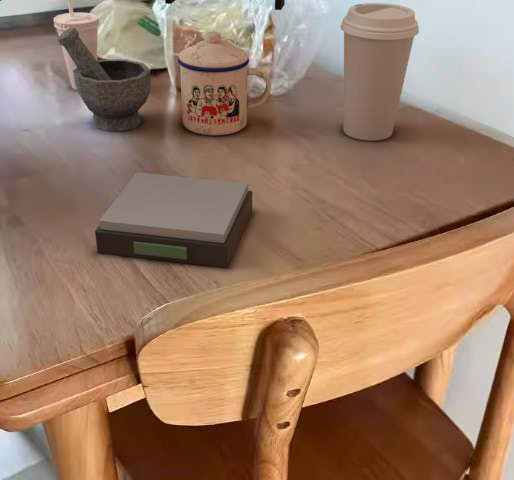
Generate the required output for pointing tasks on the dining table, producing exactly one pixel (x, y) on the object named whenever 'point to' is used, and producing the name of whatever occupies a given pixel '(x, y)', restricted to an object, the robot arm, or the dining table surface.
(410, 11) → the coffee cup
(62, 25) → the smoothie
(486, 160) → the dining table surface
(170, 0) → the robot arm
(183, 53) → the teacup with lid
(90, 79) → the mortar and pestle
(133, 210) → the scale
